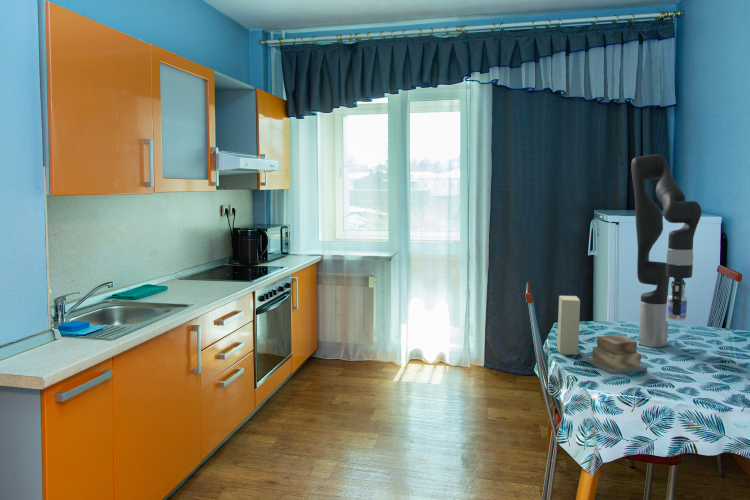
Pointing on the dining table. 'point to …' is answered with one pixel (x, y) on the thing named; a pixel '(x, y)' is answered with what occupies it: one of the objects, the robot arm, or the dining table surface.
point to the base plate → (616, 371)
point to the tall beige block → (568, 325)
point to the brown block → (616, 352)
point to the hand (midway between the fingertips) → (676, 312)
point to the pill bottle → (682, 310)
